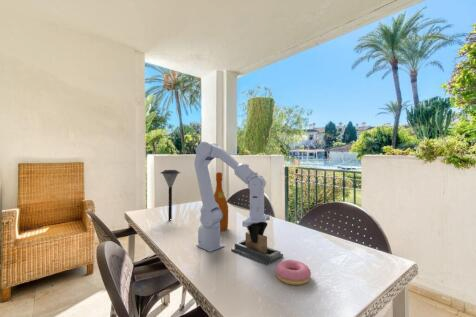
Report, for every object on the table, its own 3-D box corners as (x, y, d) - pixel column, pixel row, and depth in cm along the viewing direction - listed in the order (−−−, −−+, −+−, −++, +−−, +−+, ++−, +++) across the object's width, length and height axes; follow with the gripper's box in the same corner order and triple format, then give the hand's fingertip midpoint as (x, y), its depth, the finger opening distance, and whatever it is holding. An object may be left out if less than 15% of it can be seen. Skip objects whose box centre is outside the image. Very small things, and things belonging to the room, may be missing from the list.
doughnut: (285, 266, 81) (285, 254, 81) (316, 276, 74) (316, 263, 74) (268, 279, 73) (268, 265, 73) (302, 292, 66) (302, 277, 66)
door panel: (245, 247, 94) (245, 232, 94) (249, 246, 95) (249, 231, 96) (263, 253, 87) (263, 237, 88) (267, 252, 89) (267, 236, 89)
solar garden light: (158, 218, 142) (158, 169, 142) (178, 216, 148) (178, 169, 147) (160, 223, 131) (161, 170, 131) (182, 221, 136) (182, 170, 136)
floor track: (231, 250, 94) (231, 244, 94) (247, 244, 101) (247, 238, 101) (267, 265, 81) (267, 258, 81) (283, 256, 89) (283, 250, 89)
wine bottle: (206, 231, 119) (206, 172, 118) (213, 225, 128) (213, 171, 128) (225, 233, 116) (225, 173, 116) (230, 227, 126) (230, 171, 126)
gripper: (252, 211, 83) (252, 249, 83) (276, 205, 94) (275, 239, 94) (238, 208, 88) (238, 244, 88) (262, 203, 99) (262, 235, 99)
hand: (256, 241), depth 91 cm, fingers closed on door panel, 2 cm apart
